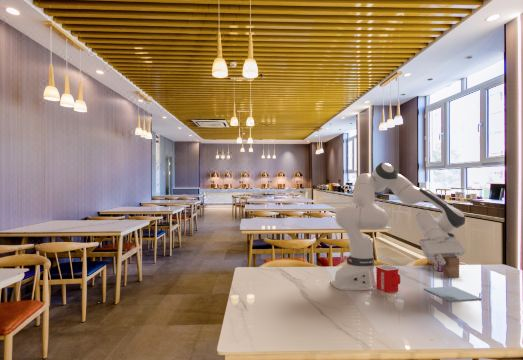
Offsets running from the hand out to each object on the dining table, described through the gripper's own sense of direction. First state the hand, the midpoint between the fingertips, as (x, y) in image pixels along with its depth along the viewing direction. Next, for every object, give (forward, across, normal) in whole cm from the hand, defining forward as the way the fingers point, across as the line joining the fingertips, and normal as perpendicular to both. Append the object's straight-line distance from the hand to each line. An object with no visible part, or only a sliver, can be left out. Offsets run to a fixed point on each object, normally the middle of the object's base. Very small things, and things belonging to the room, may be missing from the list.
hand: (451, 263), depth 142 cm
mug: (+4, -25, +17) cm, 31 cm away
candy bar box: (-14, +26, +35) cm, 45 cm away
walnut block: (+4, 0, +5) cm, 6 cm away
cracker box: (-22, +30, +43) cm, 57 cm away
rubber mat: (+10, 0, +10) cm, 14 cm away
